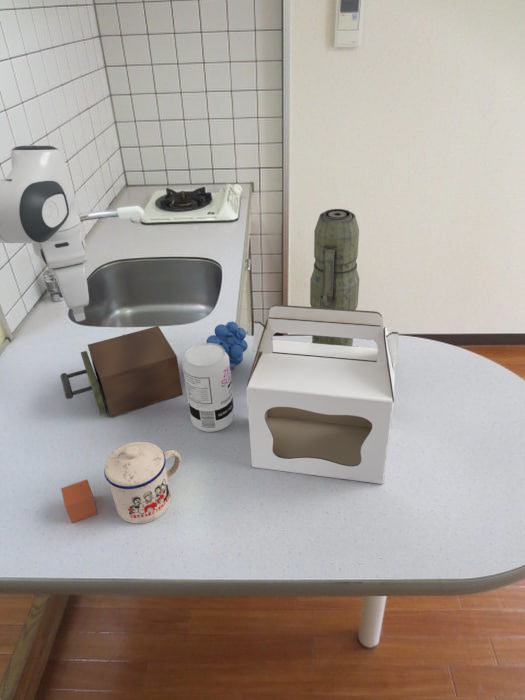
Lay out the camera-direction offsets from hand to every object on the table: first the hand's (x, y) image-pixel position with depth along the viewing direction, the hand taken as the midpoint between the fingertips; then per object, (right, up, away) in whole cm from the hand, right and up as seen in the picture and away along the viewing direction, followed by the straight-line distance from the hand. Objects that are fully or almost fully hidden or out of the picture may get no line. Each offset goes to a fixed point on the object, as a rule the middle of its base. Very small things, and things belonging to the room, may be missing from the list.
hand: (75, 308), depth 101 cm
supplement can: (+26, -21, -1) cm, 34 cm away
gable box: (+46, -25, -9) cm, 53 cm away
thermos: (+50, -14, +7) cm, 52 cm away
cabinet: (+11, -16, +7) cm, 20 cm away
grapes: (+29, -13, +11) cm, 34 cm away
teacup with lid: (+18, -32, -16) cm, 40 cm away
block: (+7, -33, -18) cm, 38 cm away
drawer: (+6, -16, +5) cm, 18 cm away
